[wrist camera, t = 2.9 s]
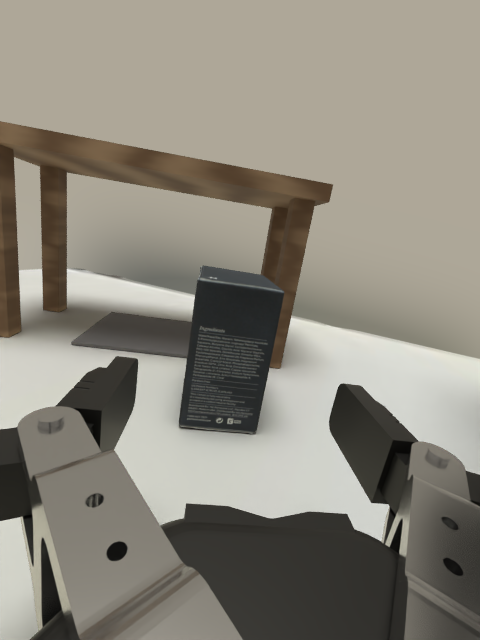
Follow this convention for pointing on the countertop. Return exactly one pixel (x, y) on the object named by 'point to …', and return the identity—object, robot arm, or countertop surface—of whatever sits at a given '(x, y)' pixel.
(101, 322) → the charcoal mat
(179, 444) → the countertop surface
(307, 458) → the countertop surface
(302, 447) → the countertop surface
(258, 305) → the box
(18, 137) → the low shelf
